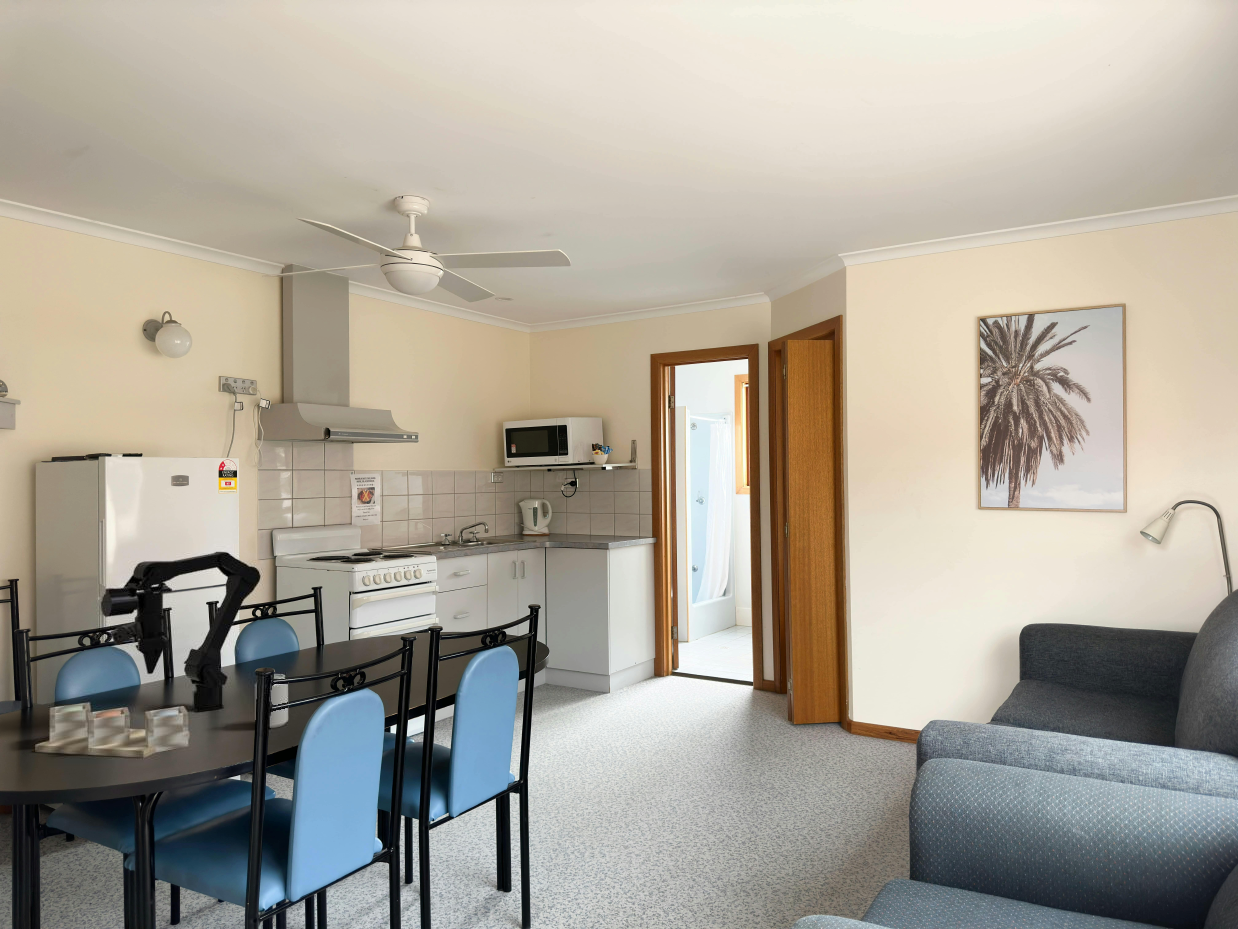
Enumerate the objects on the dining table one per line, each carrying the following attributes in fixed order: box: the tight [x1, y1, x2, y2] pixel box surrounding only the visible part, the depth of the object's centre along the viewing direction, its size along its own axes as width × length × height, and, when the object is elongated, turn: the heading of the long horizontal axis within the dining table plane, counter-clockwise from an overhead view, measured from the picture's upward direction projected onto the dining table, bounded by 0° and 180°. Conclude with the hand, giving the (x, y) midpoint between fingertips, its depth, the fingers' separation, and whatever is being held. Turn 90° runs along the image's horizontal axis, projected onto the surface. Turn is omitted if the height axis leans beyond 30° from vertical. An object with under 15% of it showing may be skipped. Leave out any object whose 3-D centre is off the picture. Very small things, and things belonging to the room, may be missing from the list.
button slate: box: [154, 710, 179, 717], centre depth 185 cm, size 5×5×3 cm
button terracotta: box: [96, 711, 121, 718], centre depth 185 cm, size 5×5×3 cm
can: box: [254, 673, 289, 729], centre depth 200 cm, size 8×8×12 cm
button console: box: [34, 702, 191, 759], centre depth 187 cm, size 14×37×8 cm, turn 79°
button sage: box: [58, 706, 83, 713], centre depth 190 cm, size 5×5×3 cm
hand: (150, 673), depth 206 cm, fingers closed
